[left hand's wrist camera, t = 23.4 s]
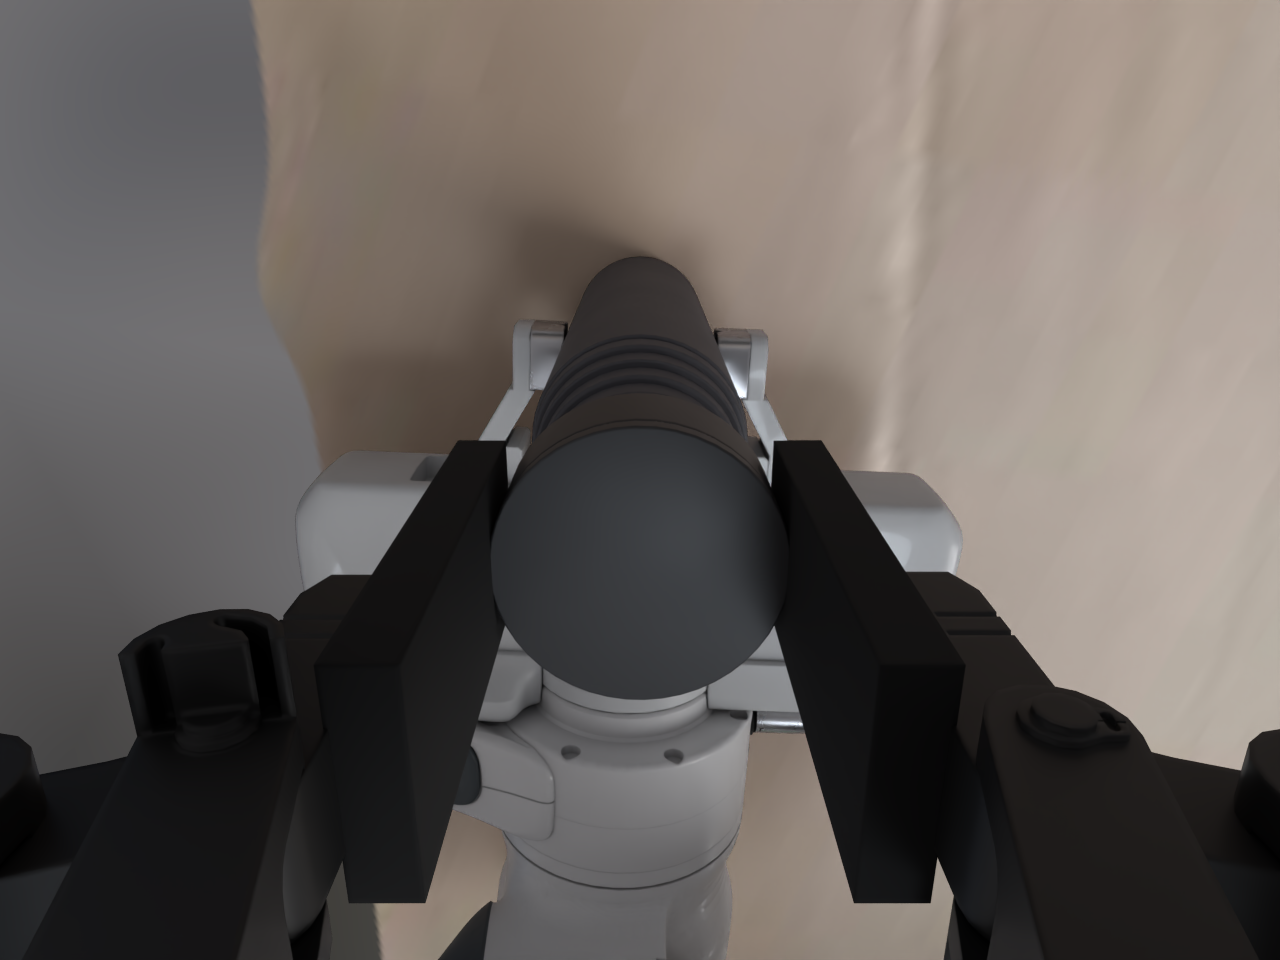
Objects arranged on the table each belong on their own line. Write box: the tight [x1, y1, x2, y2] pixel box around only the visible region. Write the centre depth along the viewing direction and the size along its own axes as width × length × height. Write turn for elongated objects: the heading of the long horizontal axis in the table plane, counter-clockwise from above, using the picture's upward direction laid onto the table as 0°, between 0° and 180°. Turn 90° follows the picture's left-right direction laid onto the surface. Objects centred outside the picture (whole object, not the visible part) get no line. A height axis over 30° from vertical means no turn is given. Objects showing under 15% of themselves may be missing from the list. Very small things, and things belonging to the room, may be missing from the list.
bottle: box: [532, 257, 748, 443], centre depth 23 cm, size 4×4×20 cm
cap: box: [490, 393, 789, 700], centre depth 13 cm, size 4×4×2 cm
